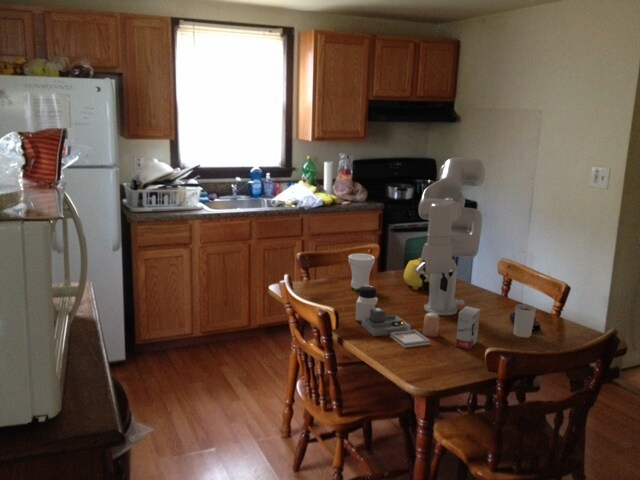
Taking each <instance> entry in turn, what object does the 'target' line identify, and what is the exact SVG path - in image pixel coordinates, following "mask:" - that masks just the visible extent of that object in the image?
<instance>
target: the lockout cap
mask: <svg viewBox="0 0 640 480" xmlns="http://www.w3.org/2000/svg"><path fill="white" fill-rule="evenodd" d="M439 325H440V315H438V314H436V313H429V312H427V313H426V314H424V319H423V330H422V331H423V332H422V335H423V336H425V337H429V338H433V337H435V338H437V336H438V335H439Z"/></svg>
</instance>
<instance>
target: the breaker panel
mask: <svg viewBox="0 0 640 480" xmlns="http://www.w3.org/2000/svg"><path fill="white" fill-rule="evenodd" d="M361 327H363V329H365V331H367V332H369V333H370V334H371V335H372V336H373V337H379V336H387V335H388V336H389V335H390V333H392V332H401V331H409V330H411V329H412V328H411V327H412V326H411V324H409V322H407V321H405V320H404V319H403V318H402V317H400V316H399V315H396V314H391V315H389V314H388V315H385V322H379V323H373V322H372V321H371V320H370V317H369V318H365V319H362V321H361Z"/></svg>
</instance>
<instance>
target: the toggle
mask: <svg viewBox="0 0 640 480" xmlns="http://www.w3.org/2000/svg"><path fill="white" fill-rule="evenodd" d="M385 316H386V311H385V309H383V308H382V307H377V308H374V309H370V320H371V321H372V322H373V323H379V322H385Z"/></svg>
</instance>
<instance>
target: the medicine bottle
mask: <svg viewBox="0 0 640 480" xmlns="http://www.w3.org/2000/svg"><path fill="white" fill-rule="evenodd" d="M358 293H359V295H358V298H357V299H356V302H355V321H358V322H362V319H365V318H369V317H370V309H374V308H378V303H379V298H378V297H377V289H376V287H375V286H372V285H369V286H362V287H360V289H359V292H358Z"/></svg>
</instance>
